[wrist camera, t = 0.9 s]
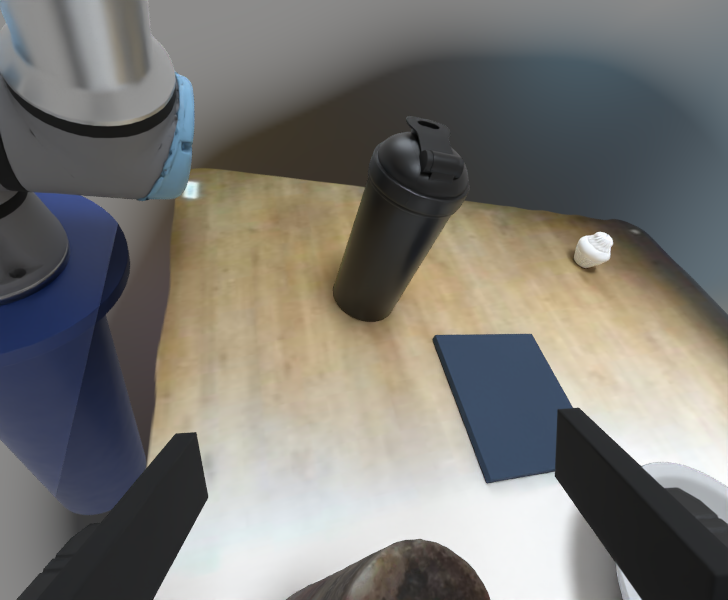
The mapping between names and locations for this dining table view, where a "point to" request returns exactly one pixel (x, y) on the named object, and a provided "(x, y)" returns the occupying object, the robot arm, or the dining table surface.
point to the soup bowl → (693, 482)
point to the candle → (401, 576)
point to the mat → (504, 401)
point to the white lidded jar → (593, 250)
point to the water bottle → (399, 217)
